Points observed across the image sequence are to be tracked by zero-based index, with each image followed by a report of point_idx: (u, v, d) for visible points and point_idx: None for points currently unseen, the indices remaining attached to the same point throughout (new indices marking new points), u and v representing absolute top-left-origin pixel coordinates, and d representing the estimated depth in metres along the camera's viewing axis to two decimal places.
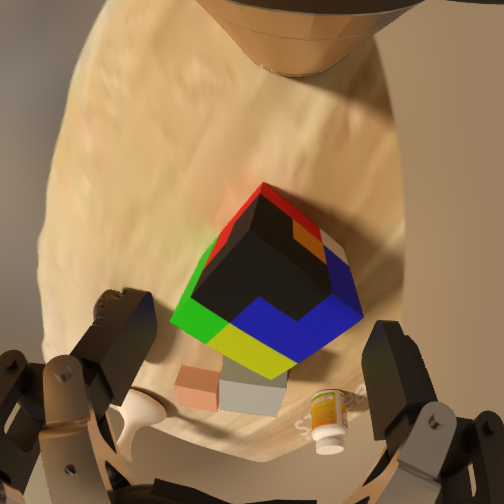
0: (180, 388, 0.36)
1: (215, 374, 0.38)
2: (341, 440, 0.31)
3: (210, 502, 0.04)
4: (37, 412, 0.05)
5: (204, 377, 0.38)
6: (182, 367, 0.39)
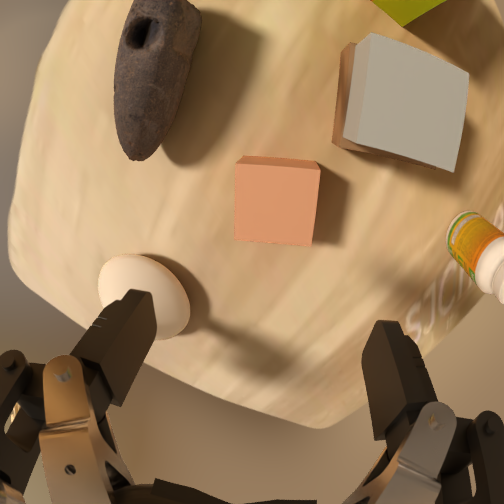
0: (247, 173, 0.20)
1: (308, 161, 0.22)
2: None
3: (210, 503, 0.04)
4: (37, 412, 0.05)
5: (290, 161, 0.21)
6: (246, 156, 0.23)
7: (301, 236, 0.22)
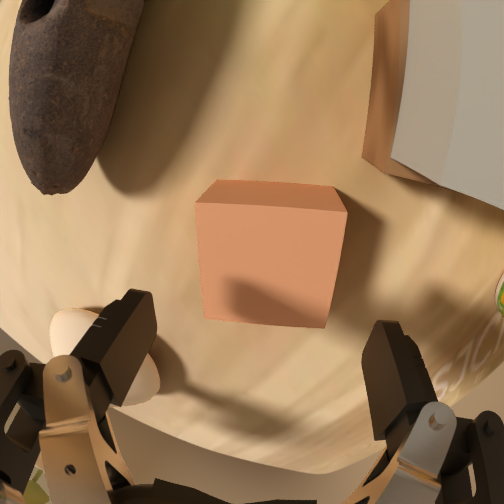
0: (217, 219, 0.11)
1: (322, 188, 0.13)
2: None
3: (210, 502, 0.04)
4: (37, 412, 0.05)
5: (292, 190, 0.13)
6: (220, 181, 0.14)
7: (310, 315, 0.13)
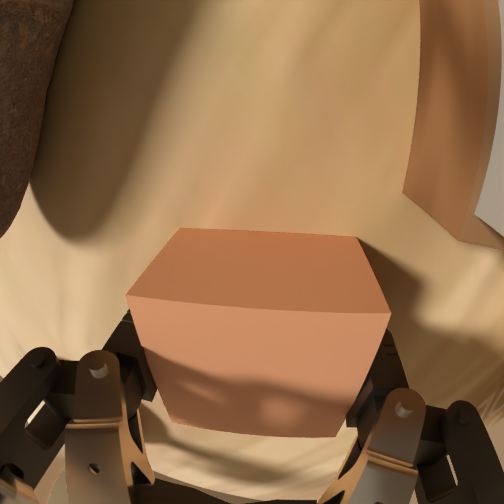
0: (164, 322, 0.06)
1: (341, 245, 0.08)
2: None
3: (210, 502, 0.04)
4: (67, 410, 0.06)
5: (294, 257, 0.08)
6: (182, 235, 0.09)
7: (316, 428, 0.08)
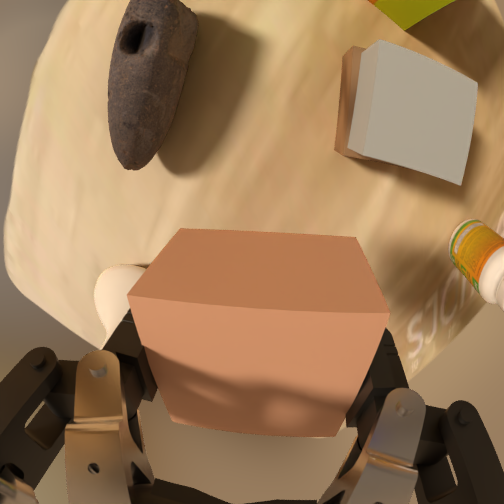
0: (165, 322, 0.06)
1: (340, 245, 0.09)
2: None
3: (210, 502, 0.04)
4: (67, 410, 0.06)
5: (294, 257, 0.08)
6: (182, 235, 0.09)
7: (316, 427, 0.08)
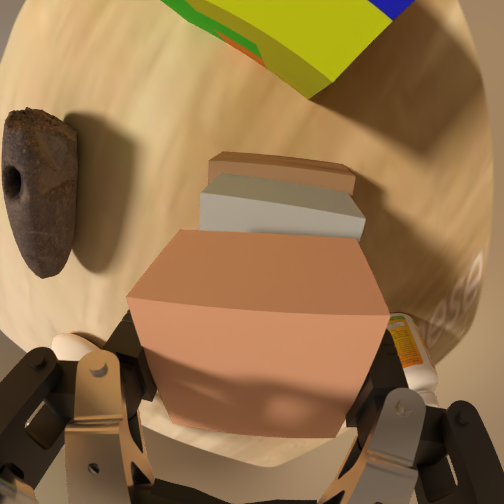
0: (164, 324, 0.06)
1: (340, 247, 0.09)
2: (434, 395, 0.15)
3: (210, 502, 0.04)
4: (66, 410, 0.06)
5: (294, 258, 0.08)
6: (182, 237, 0.09)
7: (316, 429, 0.08)
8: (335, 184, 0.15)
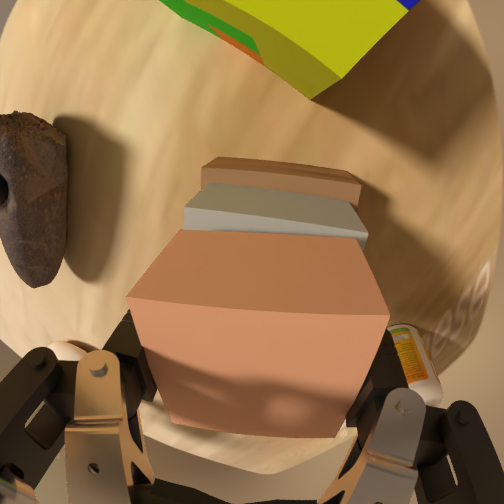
0: (164, 324, 0.06)
1: (340, 247, 0.09)
2: None
3: (210, 502, 0.04)
4: (67, 410, 0.06)
5: (294, 258, 0.08)
6: (182, 237, 0.09)
7: (315, 429, 0.08)
8: (339, 194, 0.14)
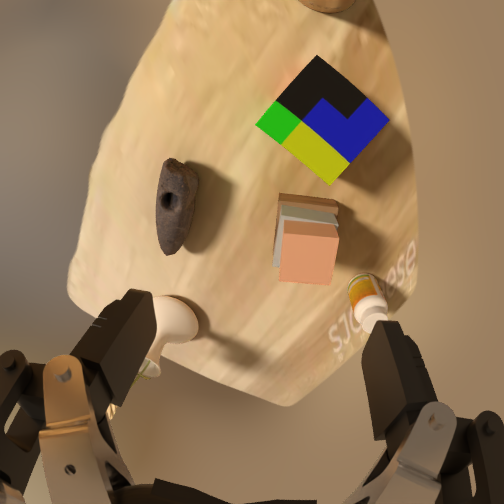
0: (291, 239, 0.30)
1: (329, 226, 0.32)
2: (384, 311, 0.37)
3: (210, 502, 0.04)
4: (37, 412, 0.05)
5: (317, 227, 0.32)
6: (286, 221, 0.33)
7: (324, 279, 0.32)
8: (330, 211, 0.36)
